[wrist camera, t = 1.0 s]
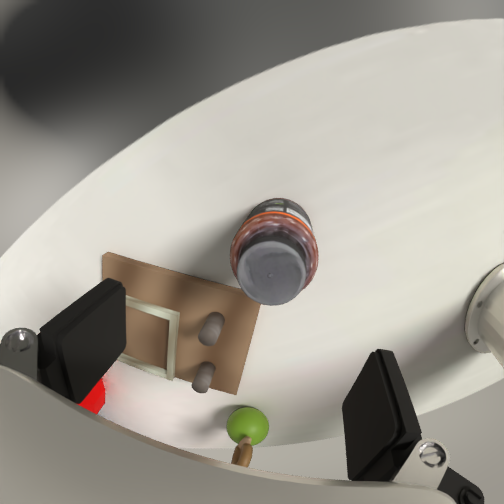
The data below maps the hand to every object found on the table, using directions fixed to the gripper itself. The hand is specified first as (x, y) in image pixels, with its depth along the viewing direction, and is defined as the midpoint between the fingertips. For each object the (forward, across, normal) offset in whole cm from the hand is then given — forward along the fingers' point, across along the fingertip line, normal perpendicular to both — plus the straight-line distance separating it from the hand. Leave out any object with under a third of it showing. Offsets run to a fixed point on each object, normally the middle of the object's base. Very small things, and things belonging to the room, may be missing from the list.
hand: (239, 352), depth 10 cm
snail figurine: (+19, -3, +26) cm, 32 cm away
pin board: (+18, +9, +14) cm, 25 cm away
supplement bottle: (+19, 0, 0) cm, 19 cm away
